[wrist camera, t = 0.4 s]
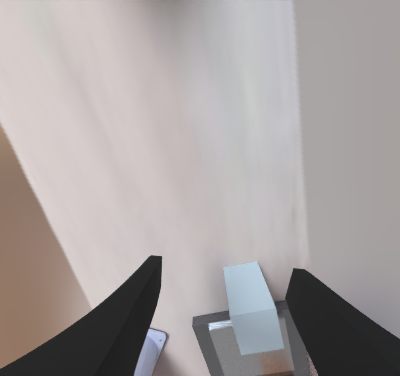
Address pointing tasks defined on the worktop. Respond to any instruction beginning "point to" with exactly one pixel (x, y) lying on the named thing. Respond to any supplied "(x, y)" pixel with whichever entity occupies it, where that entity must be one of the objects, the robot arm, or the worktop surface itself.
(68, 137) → the worktop surface
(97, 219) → the worktop surface
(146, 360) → the robot arm
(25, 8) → the worktop surface
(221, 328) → the base
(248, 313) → the housing block
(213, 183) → the worktop surface
